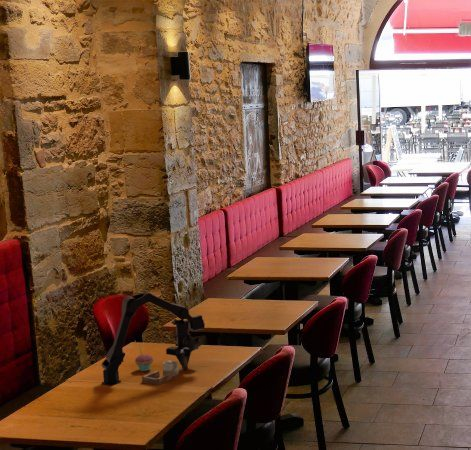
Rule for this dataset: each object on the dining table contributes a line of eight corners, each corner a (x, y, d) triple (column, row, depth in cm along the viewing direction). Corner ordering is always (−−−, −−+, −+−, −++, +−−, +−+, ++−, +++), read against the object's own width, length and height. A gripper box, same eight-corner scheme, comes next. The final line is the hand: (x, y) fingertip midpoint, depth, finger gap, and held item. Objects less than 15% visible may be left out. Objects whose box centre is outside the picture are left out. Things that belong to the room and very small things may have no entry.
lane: (157, 385, 386) (157, 379, 386) (142, 382, 392) (141, 376, 391) (172, 378, 394) (172, 373, 394) (157, 375, 400) (157, 370, 399)
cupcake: (132, 371, 409) (130, 346, 407) (142, 366, 416) (140, 341, 415) (147, 373, 405) (145, 348, 403) (157, 367, 412) (155, 343, 411)
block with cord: (171, 377, 396) (170, 364, 395) (163, 375, 399) (162, 363, 398) (190, 369, 407) (190, 356, 406) (182, 367, 410) (182, 355, 409)
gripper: (182, 339, 393) (184, 372, 395) (208, 329, 408) (210, 362, 410) (164, 336, 400) (166, 369, 402) (190, 327, 414) (192, 358, 416)
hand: (184, 364), depth 407 cm, fingers closed on block with cord, 3 cm apart
